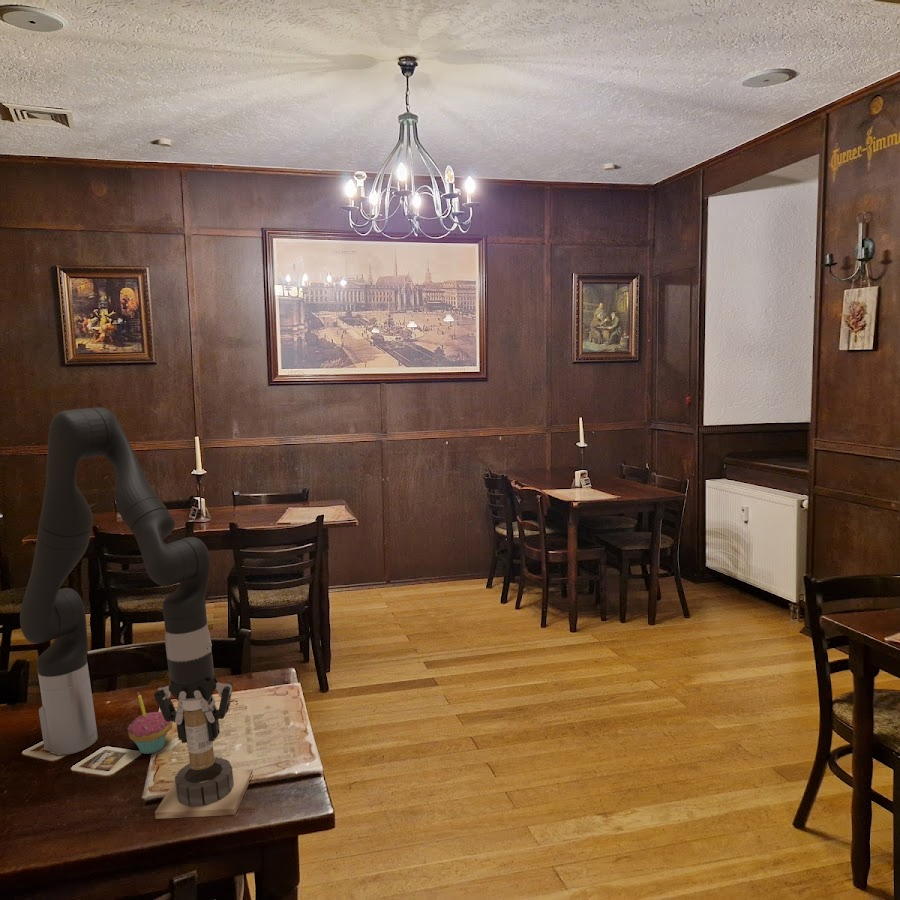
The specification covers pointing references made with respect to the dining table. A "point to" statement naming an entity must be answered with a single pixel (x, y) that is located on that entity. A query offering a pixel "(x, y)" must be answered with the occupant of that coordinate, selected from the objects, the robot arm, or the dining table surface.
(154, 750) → the cupcake
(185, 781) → the ring holder
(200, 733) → the sprinkles bottle
